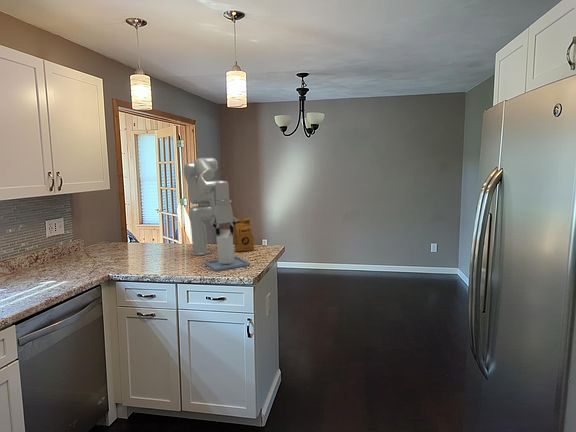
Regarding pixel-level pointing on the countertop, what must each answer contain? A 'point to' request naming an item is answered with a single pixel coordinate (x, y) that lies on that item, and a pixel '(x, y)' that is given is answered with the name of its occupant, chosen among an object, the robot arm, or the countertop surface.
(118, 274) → the countertop surface
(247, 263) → the tray
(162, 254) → the countertop surface
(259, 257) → the countertop surface
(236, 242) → the coffee package
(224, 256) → the milk carton
